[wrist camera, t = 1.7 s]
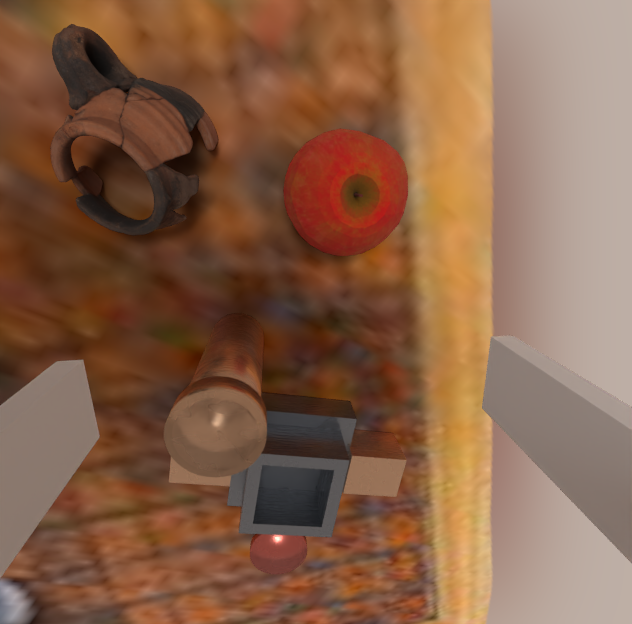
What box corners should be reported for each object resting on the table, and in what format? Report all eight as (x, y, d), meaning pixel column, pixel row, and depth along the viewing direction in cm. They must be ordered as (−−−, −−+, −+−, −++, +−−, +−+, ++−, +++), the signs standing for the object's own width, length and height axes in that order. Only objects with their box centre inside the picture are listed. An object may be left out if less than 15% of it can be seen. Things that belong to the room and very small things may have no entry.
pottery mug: (251, 171, 30) (208, 224, 24) (163, 208, 34) (107, 261, 28) (149, -13, 23) (55, -3, 17) (55, 59, 27) (-48, 88, 21)
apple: (381, 132, 30) (439, 102, 19) (387, 239, 32) (441, 263, 22) (274, 144, 29) (276, 120, 19) (289, 253, 32) (298, 283, 21)
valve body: (173, 519, 38) (152, 589, 32) (185, 384, 34) (164, 431, 27) (367, 529, 41) (385, 594, 35) (400, 406, 37) (428, 453, 30)
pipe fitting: (204, 361, 34) (160, 473, 20) (210, 304, 32) (167, 385, 19) (264, 368, 34) (259, 480, 21) (272, 313, 33) (273, 396, 20)
